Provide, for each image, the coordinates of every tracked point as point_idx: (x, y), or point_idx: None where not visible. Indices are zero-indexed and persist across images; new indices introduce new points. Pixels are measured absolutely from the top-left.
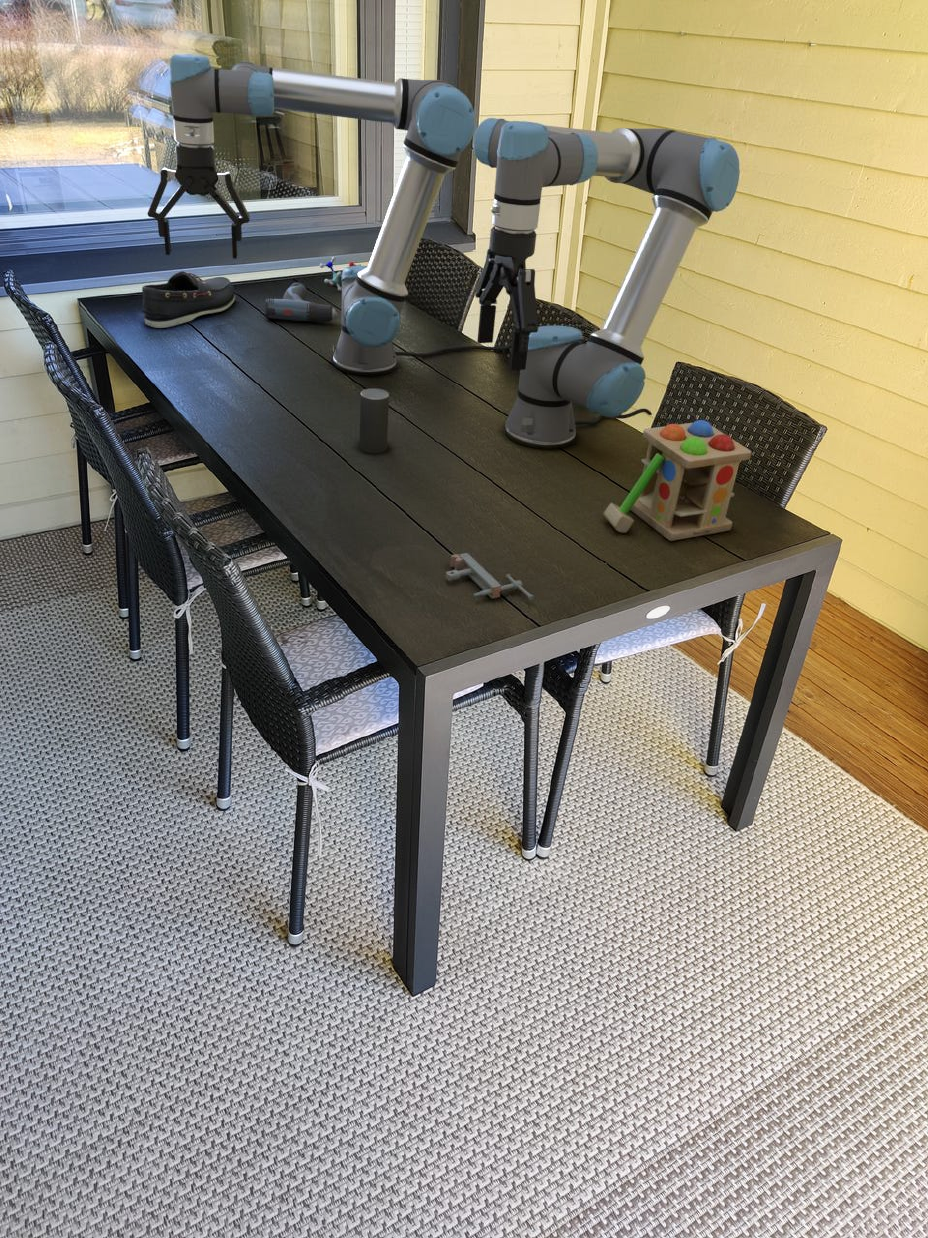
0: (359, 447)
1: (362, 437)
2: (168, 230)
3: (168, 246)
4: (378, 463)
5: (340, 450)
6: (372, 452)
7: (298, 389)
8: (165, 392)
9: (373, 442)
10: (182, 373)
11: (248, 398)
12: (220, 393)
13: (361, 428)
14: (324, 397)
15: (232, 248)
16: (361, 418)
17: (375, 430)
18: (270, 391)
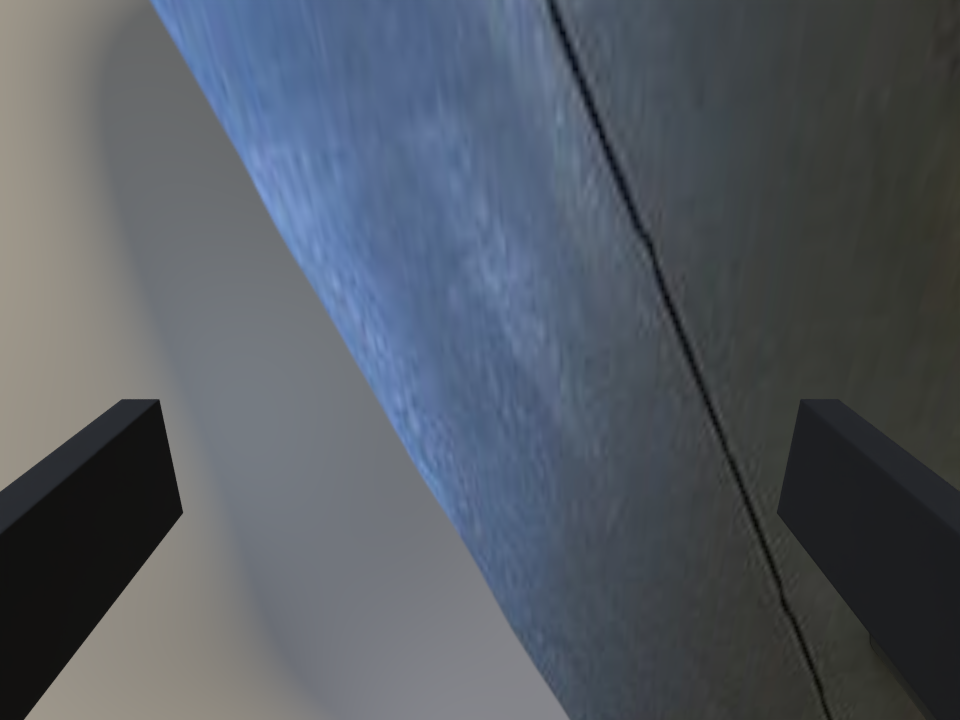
0: (870, 637)
1: (894, 676)
2: (15, 621)
3: (139, 567)
4: (891, 695)
5: (820, 647)
6: None
7: (781, 276)
8: (349, 340)
9: None
10: (372, 160)
11: (610, 365)
12: (521, 333)
13: (907, 692)
14: (856, 337)
15: (827, 577)
16: (925, 716)
17: None
18: (684, 302)
